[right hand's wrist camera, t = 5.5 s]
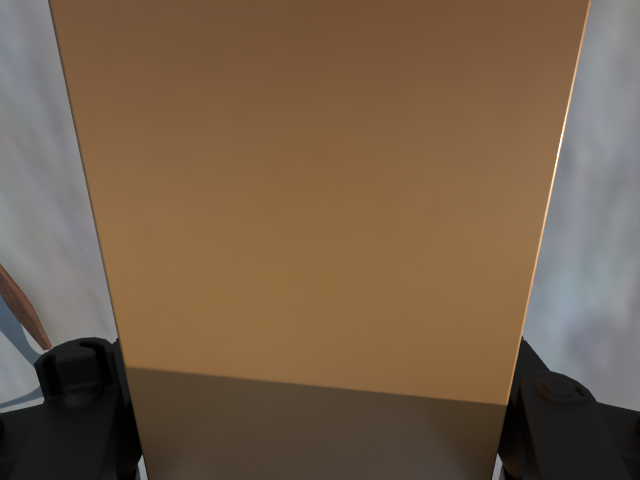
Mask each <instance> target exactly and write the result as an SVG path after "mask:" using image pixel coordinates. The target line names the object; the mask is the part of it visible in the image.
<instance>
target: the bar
mask: <svg viewBox="0 0 640 480" xmlns="http://www.w3.org/2000/svg"><path fill="white" fill-rule="evenodd" d="M591 1H592V0H48V2H49V7H50V12H51V17H52V22H53V26H54V31H55V36H56V41H57V46H58V50H59V55H60V60H61V65H62V70H63V74H64V79H65V84H66V89H67V94H68V98H69V103H70V108H71V113H72V118H73V122H74V127H75V132H76V137H77V142H78V146H79V151H80V156H81V161H82V166H83V170H84V175H85V180H86V185H87V190H88V194H89V199H90V204H91V209H92V214H93V218H94V223H95V228H96V233H97V238H98V242H99V247H100V252H101V257H102V262H103V266H104V271H105V276H106V281H107V286H108V290H109V295H110V300H111V305H112V310H113V314H114V319H115V324H116V329H117V334H118V338H119V343H120V348H121V353H122V358H123V362H124V367H125V372H126V377H127V382H128V386H129V391H130V396H131V401H132V406H133V410H134V415H135V420H136V425H137V430H138V434H139V439H140V444H141V449H142V454H143V458H144V463H145V468H146V473H147V478H148V480H492V476H493V471H494V466H495V462H496V457H497V452H498V447H499V442H500V438H501V433H502V428H503V423H504V418H505V414H506V409H507V404H508V399H509V394H510V390H511V385H512V380H513V375H514V370H515V366H516V361H517V356H518V351H519V346H520V342H521V337H522V332H523V327H524V322H525V318H526V313H527V308H528V303H529V298H530V294H531V289H532V284H533V279H534V274H535V270H536V265H537V260H538V255H539V250H540V246H541V241H542V236H543V231H544V226H545V222H546V217H547V212H548V207H549V202H550V198H551V193H552V188H553V183H554V178H555V174H556V169H557V164H558V159H559V154H560V150H561V145H562V140H563V135H564V130H565V126H566V121H567V116H568V111H569V106H570V102H571V97H572V92H573V87H574V82H575V78H576V73H577V68H578V63H579V58H580V54H581V49H582V44H583V39H584V34H585V30H586V25H587V20H588V15H589V10H590V6H591Z"/></svg>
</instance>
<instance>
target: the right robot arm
mask: <svg viewBox="0 0 640 480" xmlns="http://www.w3.org/2000/svg"><path fill="white" fill-rule="evenodd" d="M34 366H35V369H36V373H37V376H38V379H39V383H40V386H41V389H42V392H43V396H44V399H45V400H44V402H43V404H40V405H37V406H32V407H28V408H23V409H19V410H14V411H9V412H5V413H0V480H141V479H140V472H139V467H138V462H139V460H140V458H141V456H142V449H141V444H140V439H139V434H138V430H137V425H136V420H135V415H134V410H133V406H132V401H131V396H130V391H129V386H128V382H127V377H126V372H125V367H124V362H123V358H122V353H121V348H120V343H119V338H117V339H116V342H114V343H113V344H111V343H110V342H108V341H107V340H106V339H102V338H97V337H91V338H80V339H76V340H72V341H68V342H65V343H63V344H60V345H58V346H56V347H53V348H52V349H50V350H49V351H47V352H46V353H44V354H43V355H41V356H40V358H39V359H38V360H37V361H36V362H35V363H34ZM498 455H499V457H500V459H501V461H502V467H501V472H500V477H499V480H640V412H639V411H634V410H630V409H625V408H620V407H616V406H611V405H607V404H603V403H599V402H596V399H595V398H594V397H593V395H592V394H591V393H590V391H589V390H588V389H587V388H585V387H584V386H583V385H582V384H580V383H579V382H578V381H576V380H574V379H572V378H570V377H567V376H565V375H563V374H559V373H556V372H552V371H550V370H549V369H548V368H547V366H546V365H545V364H544V363H543V361H542V360H541V359H540V358H539V356H538V355H537V354H536V353H535V351H534V350H533V349H532V348H531V346H530V345H529V344H528V343H527V341H526V340H524V338H523V336H522V337H521V342H520V346H519V351H518V356H517V361H516V366H515V370H514V375H513V380H512V385H511V390H510V394H509V399H508V404H507V409H506V414H505V418H504V423H503V428H502V433H501V438H500V442H499V447H498Z"/></svg>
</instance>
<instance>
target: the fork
mask: <svg viewBox="0 0 640 480" xmlns="http://www.w3.org/2000/svg"><path fill="white" fill-rule="evenodd" d="M0 293H1V295H2V297H3V299H4V301H5V302H6V304H7V305H8V307H9V308H10V310H11V311H12V313H13V314H14V315H15V317H16V318H17V319H18V320H19V322H20V323H21V324H22V325H23V326H24V328H25V329H26V330H27V331H28V332H29V333H30V335H31V336H32V337H33V338H34V339H35V341H36V342H37V343H38V344H39V345H40V346H41V348H42V349H43V350H44V351H45V352H47V351H49V350H50V349H52V348H53V347H52V345H51V343H50V341H49V339H48V337H47V335H46V333H45V330H44V328H43V326H42V324H41V322H40V320H39V318H38V316H37V314H36V312H35V310H34V308H33V306H32V305H31V303H30V302H29V300H28V298H27V297H26V296H25V294H24V293H23V292H22V290H21V289H20V288H19V287H18V285H17V284H16V283H15V282H14V280H13V279H12V278H11V277H10V275H9V274H8V273H7V272H6V270H5V269H4V268H3V266H2V265H1V264H0Z"/></svg>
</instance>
